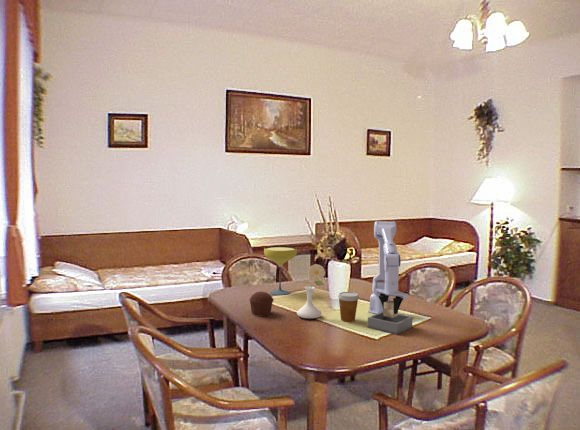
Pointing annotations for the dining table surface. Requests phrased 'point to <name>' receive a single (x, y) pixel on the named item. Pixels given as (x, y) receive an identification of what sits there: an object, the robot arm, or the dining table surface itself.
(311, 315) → the flower in vase
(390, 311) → the birch block
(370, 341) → the dining table surface
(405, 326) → the charcoal bin
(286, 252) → the cocktail glass
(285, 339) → the dining table surface
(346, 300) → the disposable coffee cup
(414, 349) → the dining table surface
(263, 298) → the muffin
